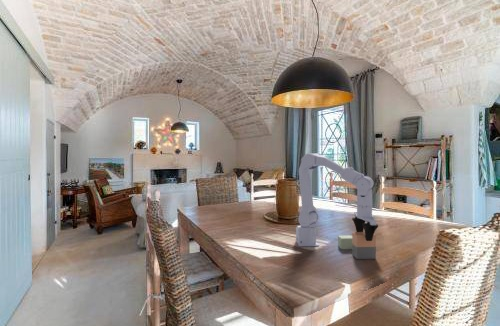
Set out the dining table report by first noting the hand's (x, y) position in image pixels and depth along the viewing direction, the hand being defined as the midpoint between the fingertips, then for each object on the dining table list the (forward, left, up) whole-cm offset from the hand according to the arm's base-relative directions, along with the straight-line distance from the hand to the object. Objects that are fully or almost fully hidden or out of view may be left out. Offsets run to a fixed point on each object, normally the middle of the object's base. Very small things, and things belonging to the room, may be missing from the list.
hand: (364, 237), depth 103 cm
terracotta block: (0, 0, -3) cm, 3 cm away
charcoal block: (0, 0, -8) cm, 8 cm away
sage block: (-2, +11, -8) cm, 14 cm away
